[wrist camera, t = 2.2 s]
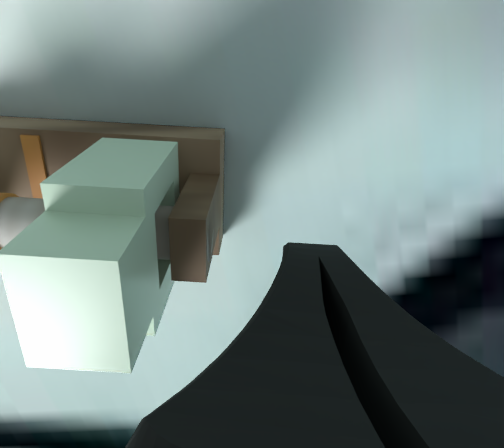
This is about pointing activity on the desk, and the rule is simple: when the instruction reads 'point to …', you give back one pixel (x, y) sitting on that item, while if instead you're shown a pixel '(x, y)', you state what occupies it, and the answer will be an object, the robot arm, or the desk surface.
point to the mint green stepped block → (94, 258)
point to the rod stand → (89, 132)
